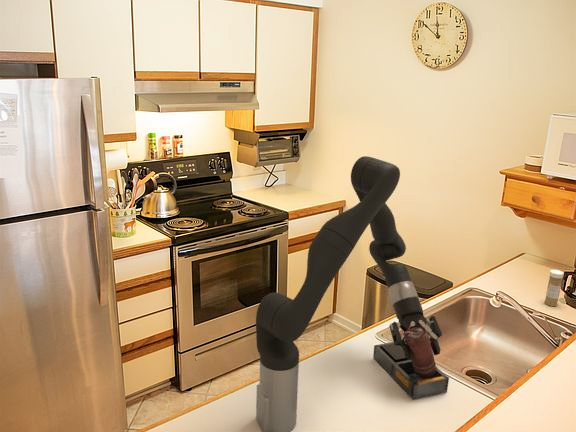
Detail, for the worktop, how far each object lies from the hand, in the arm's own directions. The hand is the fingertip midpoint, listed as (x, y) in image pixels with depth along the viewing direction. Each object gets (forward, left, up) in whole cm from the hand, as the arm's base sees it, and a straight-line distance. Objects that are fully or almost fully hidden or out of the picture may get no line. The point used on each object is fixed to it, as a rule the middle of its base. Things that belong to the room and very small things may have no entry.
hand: (424, 356), depth 138 cm
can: (+2, +2, -6) cm, 7 cm away
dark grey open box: (0, +6, -10) cm, 11 cm away
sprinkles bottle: (+80, +30, -10) cm, 86 cm away
